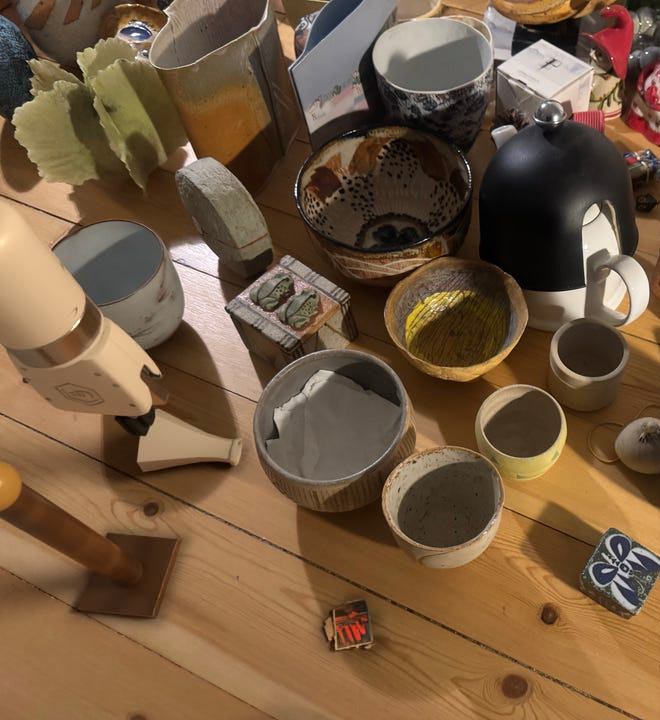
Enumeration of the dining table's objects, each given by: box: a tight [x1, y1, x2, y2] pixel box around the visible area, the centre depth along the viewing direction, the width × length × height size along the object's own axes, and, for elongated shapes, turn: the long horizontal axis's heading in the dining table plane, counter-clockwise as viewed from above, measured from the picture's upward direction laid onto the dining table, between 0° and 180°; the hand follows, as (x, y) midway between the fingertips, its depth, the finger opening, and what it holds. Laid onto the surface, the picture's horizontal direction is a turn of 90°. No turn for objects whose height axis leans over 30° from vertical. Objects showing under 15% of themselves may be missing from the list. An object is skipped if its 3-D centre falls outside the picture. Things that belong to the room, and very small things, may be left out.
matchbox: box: [323, 598, 377, 651], centre depth 71 cm, size 5×5×1 cm
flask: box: [136, 408, 244, 473], centre depth 80 cm, size 7×7×10 cm
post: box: [0, 461, 182, 619], centre depth 64 cm, size 8×8×26 cm
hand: (143, 423), depth 76 cm, fingers closed
